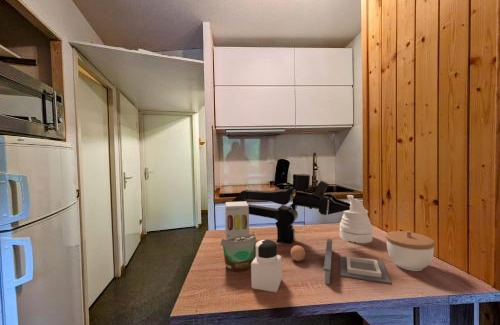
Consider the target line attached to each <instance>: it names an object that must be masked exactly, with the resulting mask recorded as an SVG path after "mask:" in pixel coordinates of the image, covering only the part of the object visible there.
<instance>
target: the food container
mask: <svg viewBox="0 0 500 325" xmlns="http://www.w3.org/2000/svg"><path fill="white" fill-rule="evenodd" d="M257 242H258V241H257V236H256V234H255V233H254V232H252V234H251V235H250V234H249V236H241V237H236V238H233V239H230V240H226V239H224V238H223V237H222V238H221V240H220V246H221V247H222V248H223V256H224V262H225V263H224V264H225V269H226V270H228V271H230V272H234V273H243V272H247V271H249V270H251V263H252V261H253V260H254V254H255V245H256V243H257Z"/></svg>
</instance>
